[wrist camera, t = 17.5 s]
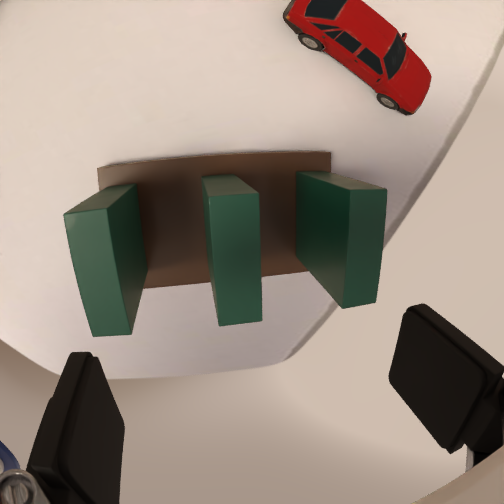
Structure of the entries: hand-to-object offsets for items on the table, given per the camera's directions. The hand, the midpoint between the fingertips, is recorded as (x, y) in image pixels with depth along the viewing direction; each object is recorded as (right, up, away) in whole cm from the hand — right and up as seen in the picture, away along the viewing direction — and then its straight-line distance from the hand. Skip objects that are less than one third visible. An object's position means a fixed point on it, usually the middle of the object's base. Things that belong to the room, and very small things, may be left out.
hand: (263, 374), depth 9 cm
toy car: (+9, +21, +14) cm, 27 cm away
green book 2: (-3, +6, +16) cm, 17 cm away
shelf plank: (-3, +6, +17) cm, 18 cm away
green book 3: (+4, +7, +17) cm, 18 cm away
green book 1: (-10, +5, +14) cm, 18 cm away
